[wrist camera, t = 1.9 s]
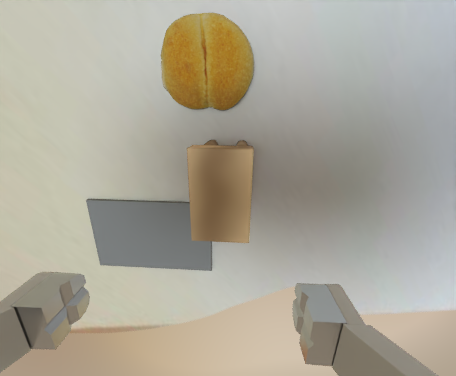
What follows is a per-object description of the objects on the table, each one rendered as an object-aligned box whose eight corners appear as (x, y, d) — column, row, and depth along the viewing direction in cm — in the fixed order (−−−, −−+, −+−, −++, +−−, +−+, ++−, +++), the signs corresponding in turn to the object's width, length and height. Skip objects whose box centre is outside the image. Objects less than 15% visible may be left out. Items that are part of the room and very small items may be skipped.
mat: (210, 203, 26) (210, 204, 26) (211, 268, 30) (211, 270, 29) (88, 198, 27) (86, 200, 27) (102, 263, 30) (100, 264, 30)
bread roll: (250, 110, 23) (252, 109, 19) (169, 108, 23) (155, 106, 20) (256, 19, 20) (259, -4, 16) (164, 18, 21) (147, -4, 17)
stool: (249, 138, 24) (253, 149, 16) (246, 204, 26) (249, 243, 18) (205, 137, 24) (186, 148, 16) (206, 203, 26) (191, 240, 18)
